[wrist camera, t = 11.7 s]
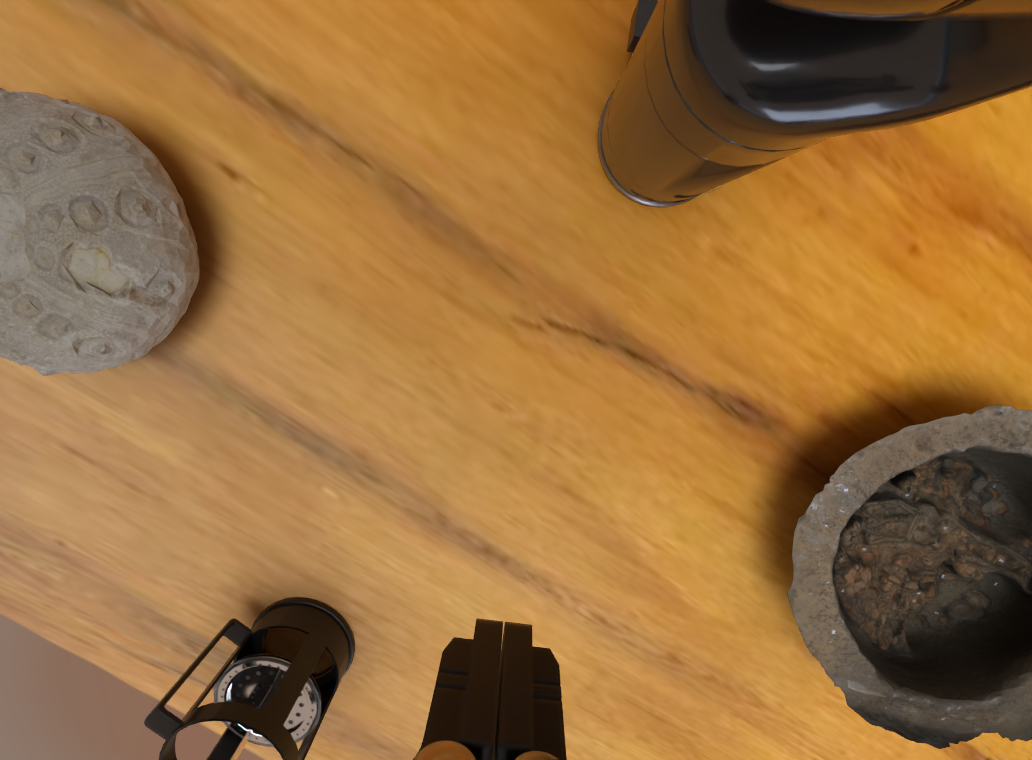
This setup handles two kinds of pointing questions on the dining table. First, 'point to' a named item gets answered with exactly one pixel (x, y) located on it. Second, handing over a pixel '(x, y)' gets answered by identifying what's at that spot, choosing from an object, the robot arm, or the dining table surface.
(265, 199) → the dining table surface
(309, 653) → the french press
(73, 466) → the dining table surface
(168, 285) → the grey carved stone
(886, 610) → the stone bowl
